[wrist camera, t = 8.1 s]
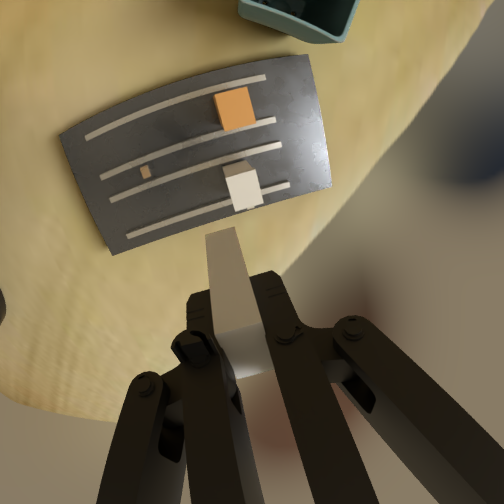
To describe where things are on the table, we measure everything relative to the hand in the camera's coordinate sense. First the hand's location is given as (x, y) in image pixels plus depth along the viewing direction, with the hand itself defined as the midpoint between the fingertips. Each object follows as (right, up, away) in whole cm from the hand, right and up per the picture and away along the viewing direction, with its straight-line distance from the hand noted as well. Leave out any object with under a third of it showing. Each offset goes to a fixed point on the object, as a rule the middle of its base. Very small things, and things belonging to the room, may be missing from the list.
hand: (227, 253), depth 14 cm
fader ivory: (0, +7, +13) cm, 15 cm away
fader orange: (-1, +13, +9) cm, 16 cm away
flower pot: (+4, +25, +6) cm, 26 cm away
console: (-4, +11, +13) cm, 17 cm away
